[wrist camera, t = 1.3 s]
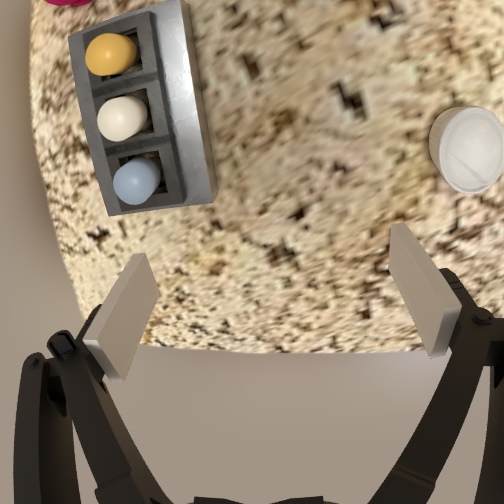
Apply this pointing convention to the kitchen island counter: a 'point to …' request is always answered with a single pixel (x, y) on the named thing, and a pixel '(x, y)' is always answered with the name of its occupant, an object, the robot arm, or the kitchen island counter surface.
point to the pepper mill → (67, 2)
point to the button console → (151, 108)
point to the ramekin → (468, 148)
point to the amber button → (111, 54)
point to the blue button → (137, 179)
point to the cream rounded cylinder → (122, 117)
